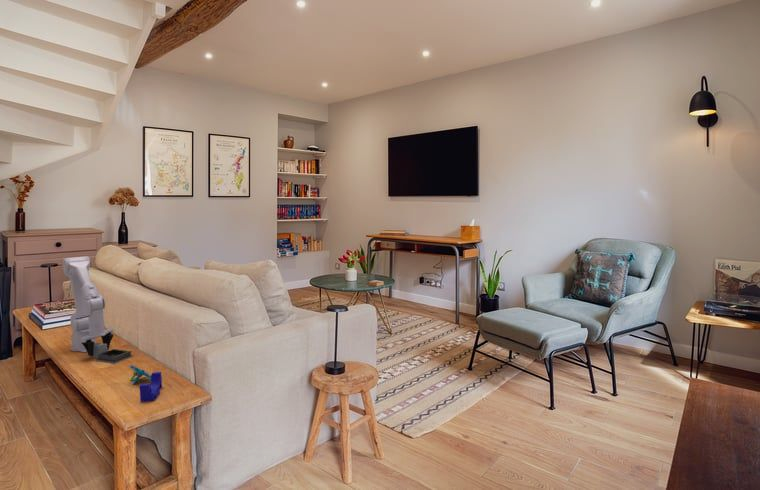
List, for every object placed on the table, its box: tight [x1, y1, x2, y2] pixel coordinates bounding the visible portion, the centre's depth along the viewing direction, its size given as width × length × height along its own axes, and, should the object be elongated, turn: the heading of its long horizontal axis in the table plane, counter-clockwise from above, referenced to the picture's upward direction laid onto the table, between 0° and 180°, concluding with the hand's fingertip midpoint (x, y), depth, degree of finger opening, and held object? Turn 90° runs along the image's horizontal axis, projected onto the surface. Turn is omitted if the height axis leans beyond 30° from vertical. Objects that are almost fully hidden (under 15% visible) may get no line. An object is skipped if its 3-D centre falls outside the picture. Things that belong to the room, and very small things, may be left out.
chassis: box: [94, 348, 135, 365], centre depth 199 cm, size 11×10×2 cm
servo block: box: [89, 341, 109, 359], centre depth 202 cm, size 6×4×6 cm, turn 72°
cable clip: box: [139, 371, 163, 402], centre depth 164 cm, size 12×4×6 cm, turn 6°
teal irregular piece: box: [129, 364, 151, 385], centre depth 174 cm, size 11×6×10 cm
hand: (98, 352), depth 202 cm, fingers open, 7 cm apart
